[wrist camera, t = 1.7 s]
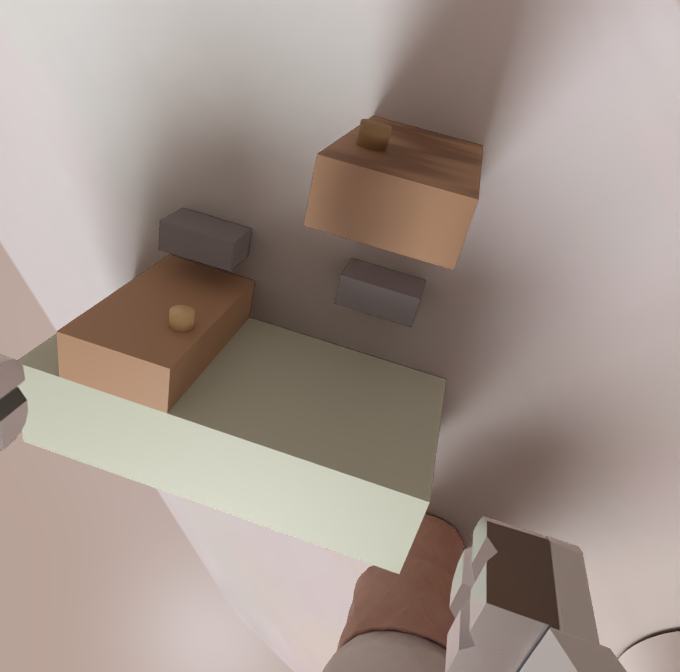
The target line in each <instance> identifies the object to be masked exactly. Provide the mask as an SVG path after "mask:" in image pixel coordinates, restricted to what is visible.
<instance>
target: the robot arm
mask: <svg viewBox="0 0 680 672" xmlns="http://www.w3.org/2000/svg"><path fill="white" fill-rule="evenodd" d="M24 381H25V375H24V369H23V364H22V363H20V362H19V361H17V360H15V359H13V358H11V357H7V356H5V355H2V354H0V451H2V450H4V449H5V448H6V447H8V446H9V445H10V444H11V443H12V442H13V441H14V440H15V439H16V438H17V436H18V435H19V433H20V432H21V430H22V428H23V427H24V425H25V423H26V419H27V414H28V404H27V399H26V398H25V396H24V395H23V393H22V392H21V390H20V389H19V386H20V385H21V384H22V383H23V382H24ZM449 608H450V610H451V612H452V614H453V615H454V617H455V620H454V622H453V624H452V626H451V628H450V630H449V632H448V634H447V649H446V664H445V672H680V631H676V632H670V633H665V634H661V635H658V636H654V637H651V638H649V639H646V640H644V641H642V642H640V643H638V644H636V645H634V646H633V647H631V648H630V649H628V650H627V651H626V652H625V653H623V654H622V655H621V656H620V658H619V659H617V657H616V656H615V655H614V653H613V652H612V650H611V649H610V648H607V647H605V646H602V645H600V644H599V638H598V633H597V628H596V622H595V617H594V611H593V606H592V601H591V595H590V590H589V584H588V579H587V574H586V568H585V563H584V557H583V552H582V551H581V549H580V548H579V547H578V546H576V545H573V544H569V543H566V542H563V541H560V540H557V539H554V538H551V537H548V536H546V537H545V536H543V535H541V534H538V533H534V532H531V531H528V530H525V529H522V528H519V527H516V526H513V525H510V524H507V523H504V522H501V521H498V520H495V519H492V518H488V517H485V516H483V517H482V518H481V519H480V520H479V521H478V523H477V525H476V527H475V529H474V531H473V545H472V547H469V548H467V549H465V550H464V551H463V553H462V555H461V558H460V560H459V562H458V564H457V568H456V571H455V574H454V578H453V582H452V588H451V595H450V607H449Z"/></svg>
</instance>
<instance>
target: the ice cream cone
mask: <svg viewBox="0 0 680 672" xmlns="http://www.w3.org/2000/svg"><path fill="white" fill-rule="evenodd" d="M462 553H463V540H462V539H461V537H460V536H459V534H458V532H457V531H456V529H455V528H454V527H453V526H451V525H449V524H448V523H447V522H446V521H444V520H441V519H439V518H437V517H434V516H431V515H428V514H425V515H424V517H423V520H422V522H421V524H420V527H419V529H418V531H417V534H416V536H415V538H414V541H413V543H412V545H411V548H410V550H409V552H408V555H407V557H406V560H405V562H404V564H403V567H402V569H401V571H400V574H397V573H394V572H391V571H388V570H386V569H383V568H380V567H377V566H371V567H369V568H368V569H367V570H366V571H365V572H364V573H363V574H362V575H361V576H360V577H359V579H358V580H357V583H356V586H355V590H354V596H353V602H352V605H351V607H350V610H349V614H348V619H347V623H346V626H345V628H344V630H343V632H342V635H341V638H340V641H339V644H338V648H337V652H336V653H335V654H334V655H333V657H332V658H331V659H330V661H329V662H328V664H327V665H326V666H325V668H324V670H323V672H445V664H446V649H447V634H448V632H449V630H450V628H451V626H452V624H453V622H454V620H455V617H454V615H453V614H452V612H451V610H450V608H449V607H450V595H451V588H452V582H453V578H454V574H455V571H456V568H457V564H458V562H459V560H460V558H461V555H462Z"/></svg>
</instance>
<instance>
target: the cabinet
mask: <svg viewBox="0 0 680 672" xmlns="http://www.w3.org/2000/svg"><path fill="white" fill-rule="evenodd" d="M251 230H252V228H249V227H245V226H242V225H238V224H235V223H232V222H228V221H225V220H222V219H218V218H215V217H212V216H208V215H205V214H202V213H198V212H195V211H192V210H188V209H185V208H181V209H180V210H178V211H176V212H174V213H172V214H171V215H169V216H167V217H165V218H163V219H162V220H160V229H159V249H158V250H162V251H165V252H168V253H171V254H175V255H178V256H181V257H184V258H188V259H191V260H194V261H197V262H201V263H204V264H207V265H210V266H214V267H217V268H220V269H223V270H227V271H230V272H231V271H232V270H233V269H234V268H235V267H236V266H237V265H238V264H239V263H240V262H242V261H243V260H244V259H245V258H246V257H247V256H248V252H249V244H250V237H251ZM254 284H255V281H254V280H250V279H247V278H244V277H241V276H237V275H234V274H231V273H228V272H225V271H221V270H218V269H215V268H212V267H208V266H205V265H202V264H199V263H195V262H192V261H189V260H186V259H182V258H179V257H176V256H173V255H168V256H166V257H165V258H164V259H162V260H161V261H159V262H158V263H156V264H155V265H153V266H152V267H150V268H149V269H147V270H146V271H144V272H143V273H142V274H140V275H139V276H137V277H136V278H134V279H133V280H131V281H130V282H128V283H127V284H125V285H124V286H122V287H121V288H120V289H118V290H117V291H115V292H114V293H112V294H111V295H109V296H108V297H106V298H105V299H103V300H102V301H101V302H99V303H98V304H96V305H95V306H93V307H92V308H90V309H89V310H87V311H86V312H84V313H83V314H81V315H80V316H79V317H77V318H76V319H74V320H73V321H71V322H70V323H68V324H67V325H65V326H64V327H62V328H61V329H59V330H58V331H57V333H56V334H55V335H53V336H52V337H51V338H49V339H48V340H46V341H45V342H43V343H42V344H40V345H39V346H37V347H36V348H34V349H33V350H32V351H30V352H29V353H27V354H26V355H24V356H23V357H21V358H20V359H18V360H17V361H19V362H20V363H22V364H23V369H24V375H25V381H24V382H23V383H22V384H21V385H20V386H19V389H20V390H21V392H22V393H23V395H24V396H25V398H26V399H27V404H28V414H27V419H26V423H25V425H24V427H23V428H22V433H23V441H24V442H27V443H30V444H32V445H35V446H38V447H41V448H43V449H46V450H49V451H52V452H55V453H58V454H60V455H63V456H66V457H69V458H72V459H75V460H78V461H80V462H83V463H86V464H89V465H92V466H95V467H97V468H100V469H103V470H106V471H109V472H112V473H114V474H117V475H120V476H123V477H125V478H128V479H131V480H134V481H137V482H140V483H143V484H145V485H148V486H151V487H154V488H157V489H159V490H162V491H165V492H168V493H171V494H174V495H176V496H179V497H182V498H185V499H188V500H191V501H193V502H196V503H199V504H202V505H205V506H207V507H210V508H213V509H216V510H219V511H222V512H224V513H227V514H230V515H233V516H236V517H239V518H241V519H244V520H247V521H250V522H253V523H256V524H258V525H261V526H264V527H267V528H270V529H273V530H275V531H278V532H281V533H284V534H287V535H289V536H292V537H295V538H298V539H301V540H304V541H306V542H309V543H312V544H315V545H318V546H321V547H323V548H326V549H329V550H332V551H335V552H338V553H340V554H343V555H346V556H349V557H352V558H355V559H357V560H360V561H363V562H366V563H369V564H372V565H374V566H377V567H380V568H383V569H386V570H388V571H391V572H394V573H397V574H400V571H401V569H402V567H403V564H404V562H405V560H406V557H407V555H408V552H409V550H410V548H411V545H412V543H413V541H414V538H415V536H416V534H417V531H418V529H419V527H420V524H421V522H422V520H423V517H424V515H425V512H426V510H427V508H428V505H429V503H430V497H431V490H432V482H433V475H434V467H435V460H436V452H437V445H438V437H439V430H440V422H441V415H442V407H443V400H444V392H445V385H446V379H443V378H440V377H437V376H434V375H430V374H427V373H424V372H421V371H418V370H415V369H411V368H408V367H405V366H402V365H399V364H396V363H392V362H389V361H386V360H383V359H380V358H377V357H373V356H370V355H367V354H364V353H361V352H357V351H354V350H351V349H348V348H345V347H342V346H338V345H335V344H332V343H329V342H326V341H323V340H319V339H316V338H313V337H310V336H307V335H304V334H300V333H297V332H294V331H291V330H288V329H285V328H281V327H278V326H275V325H272V324H269V323H265V322H262V321H259V320H256V319H253V318H250V311H251V304H252V297H253V290H254ZM424 284H425V280H423V279H419V278H416V277H413V276H409V275H406V274H403V273H399V272H396V271H393V270H389V269H386V268H383V267H379V266H376V265H373V264H369V263H366V262H363V261H359V260H356V259H351V260H350V262H349V263H348V265H347V267H346V268H345V270H344V271H343V273H342V275H341V278H340V282H339V286H338V290H337V295H336V299H335V303H334V304H337V305H340V306H344V307H347V308H350V309H353V310H357V311H360V312H363V313H366V314H370V315H373V316H376V317H379V318H383V319H386V320H389V321H392V322H396V323H399V324H402V325H405V326H409V327H411V326H412V323H413V320H414V317H415V314H416V311H417V308H418V305H419V302H420V298H421V295H422V291H423V287H424Z"/></svg>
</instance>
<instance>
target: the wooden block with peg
mask: <svg viewBox="0 0 680 672" xmlns="http://www.w3.org/2000/svg"><path fill="white" fill-rule="evenodd" d="M482 153H483V146H482V145H479V144H475V143H471V142H468V141H464V140H460V139H457V138H453V137H449V136H445V135H442V134H438V133H434V132H431V131H427V130H423V129H420V128H416V127H412V126H409V125H405V124H401V123H397V122H394V121H390V120H386V119H383V118H379V117H375V116H372V117H371V118H369V119H362V120H361V123H360V125H359V126H358V127H356V128H355V129H353V130H352V131H350V132H349V133H347V134H346V135H344V136H343V137H342V138H340V139H339V140H337V141H336V142H334V143H333V144H331V145H330V146H328V147H327V148H326V149H324V150H323V151H321V152H320V153H318V154H317V157H316V162H315V168H314V173H313V178H312V184H311V189H310V194H309V200H308V205H307V210H306V216H305V221H304V226H306V227H309V228H312V229H316V230H319V231H322V232H326V233H329V234H333V235H336V236H339V237H343V238H346V239H350V240H353V241H356V242H360V243H363V244H367V245H370V246H373V247H377V248H380V249H384V250H387V251H390V252H394V253H397V254H400V255H404V256H407V257H411V258H414V259H417V260H421V261H424V262H428V263H431V264H434V265H438V266H441V267H445V268H448V269H451V270H454V268H455V266H456V263H457V260H458V257H459V254H460V251H461V248H462V246H463V243H464V240H465V237H466V234H467V231H468V228H469V226H470V223H471V220H472V217H473V214H474V211H475V208H476V206H477V203H478V200H479V188H480V176H481V164H482Z"/></svg>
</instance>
